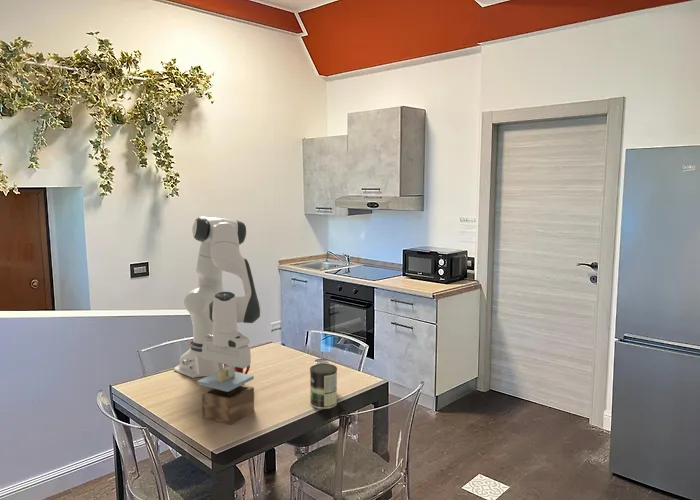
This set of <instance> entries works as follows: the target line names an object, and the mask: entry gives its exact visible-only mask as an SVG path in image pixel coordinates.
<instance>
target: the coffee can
mask: <svg viewBox="0 0 700 500" xmlns="http://www.w3.org/2000/svg"><path fill="white" fill-rule="evenodd" d="M309 372H310V373H309V374H310V377H309V378H310V381H309V383H310V389H309V390H310V395H309V396H310V397H309V398H310V406H311V407H312V408H315V409H318V410H327V409H329V410H330V409H332V408H335V407H336V406H337V403H338V401H337V400H338V399H337V396H338V393H337V388H338V387H337V385H338V384H337V383H338V367H337V365H334V364H332V363H329V364H317V365H314V364H313V365H312V366H310V368H309Z"/></svg>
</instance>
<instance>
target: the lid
mask: <svg viewBox="0 0 700 500" xmlns="http://www.w3.org/2000/svg"><path fill="white" fill-rule="evenodd" d="M223 368H224V367H223ZM227 371H229V367H226V368H224V369H221V370H219V371H217V372H216V373H214V374H212V375H210V376H204V377H202V378H201V379H198V380H196V382H197V385H200V386H203V387H208V388H210V389H211V388H214V389H218V390H222V391H226V392H229V391H231V390H233V389H235V388H237V387H239V386H241V385H245V384H246V383H249V382H251V381H252V380H254V378H255V377H254V375H251V374H248V373H247V374H244V372H243V373H239V372H235V371H234V370H233V375H232V376H231V377H229V376H226V372H227Z"/></svg>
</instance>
